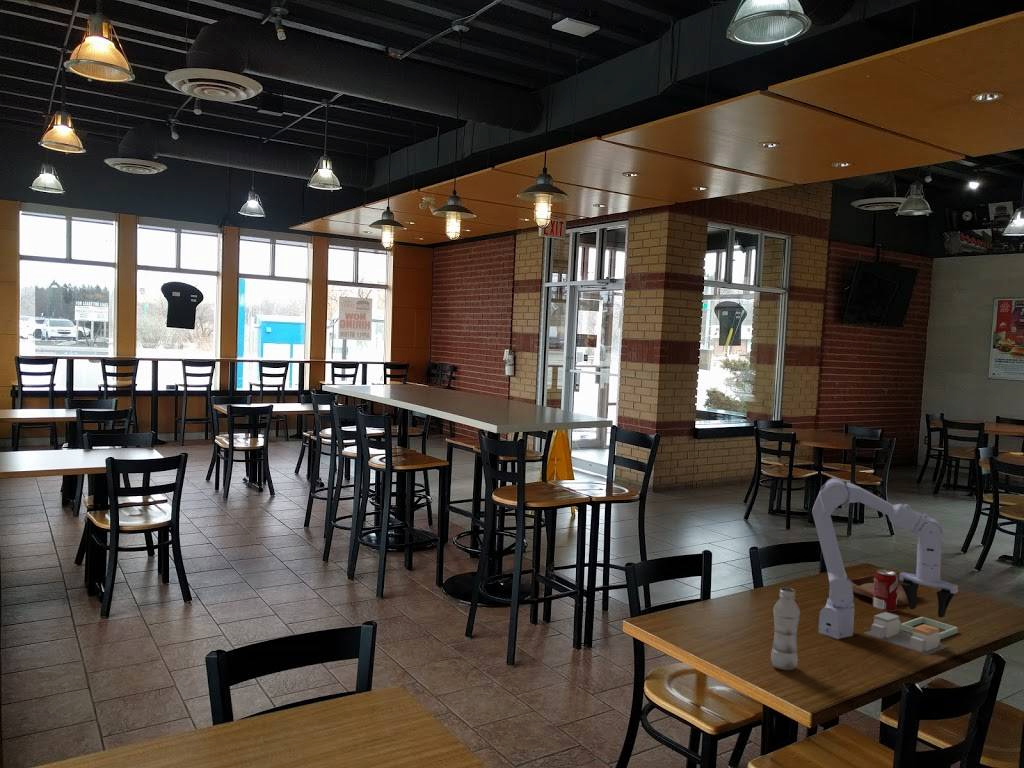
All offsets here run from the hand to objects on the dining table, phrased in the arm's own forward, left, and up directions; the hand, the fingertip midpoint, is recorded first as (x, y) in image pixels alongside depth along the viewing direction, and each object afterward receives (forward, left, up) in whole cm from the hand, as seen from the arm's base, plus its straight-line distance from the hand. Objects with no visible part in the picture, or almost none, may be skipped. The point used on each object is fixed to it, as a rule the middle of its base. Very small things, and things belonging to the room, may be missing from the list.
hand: (926, 612), depth 206 cm
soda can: (+22, +23, -10) cm, 34 cm away
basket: (+34, +31, -11) cm, 47 cm away
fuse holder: (0, +5, -10) cm, 11 cm away
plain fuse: (0, +11, -9) cm, 14 cm away
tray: (+13, +5, -10) cm, 17 cm away
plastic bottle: (-45, +12, -10) cm, 48 cm away
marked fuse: (0, 0, -9) cm, 9 cm away
